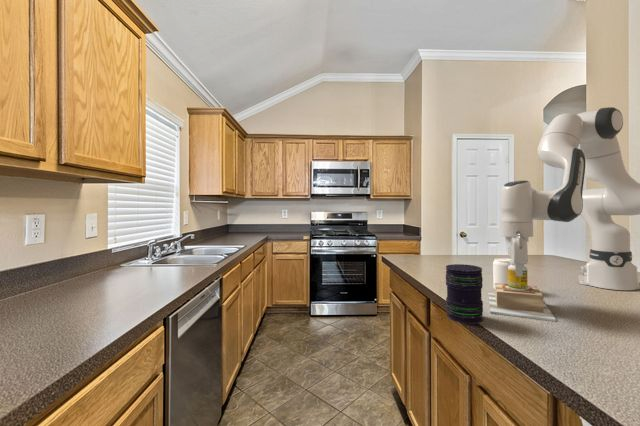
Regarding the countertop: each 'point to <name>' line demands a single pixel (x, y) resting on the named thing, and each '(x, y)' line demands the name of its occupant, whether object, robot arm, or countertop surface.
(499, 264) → the beverage can
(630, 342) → the countertop surface
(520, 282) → the supplement bottle
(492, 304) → the stand
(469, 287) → the storage jar
